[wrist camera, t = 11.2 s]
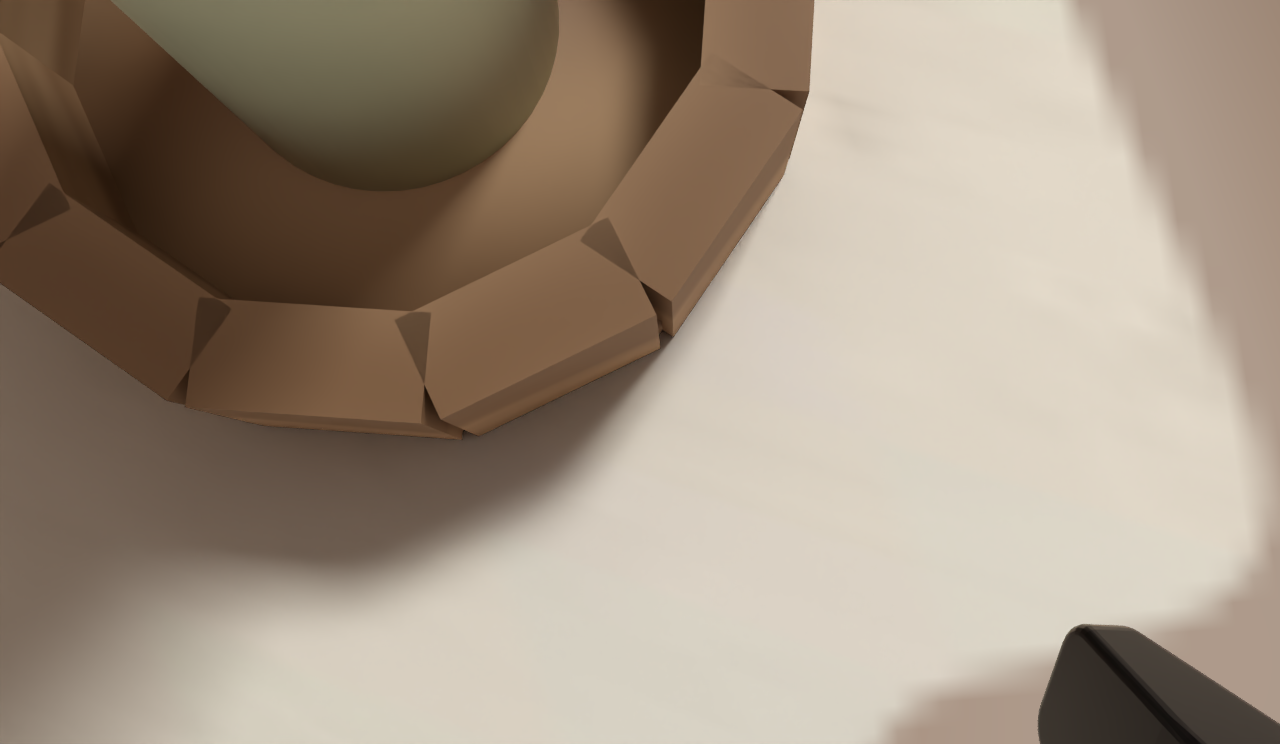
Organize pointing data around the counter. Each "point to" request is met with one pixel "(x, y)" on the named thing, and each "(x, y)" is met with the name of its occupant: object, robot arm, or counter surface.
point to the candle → (366, 77)
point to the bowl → (390, 219)
